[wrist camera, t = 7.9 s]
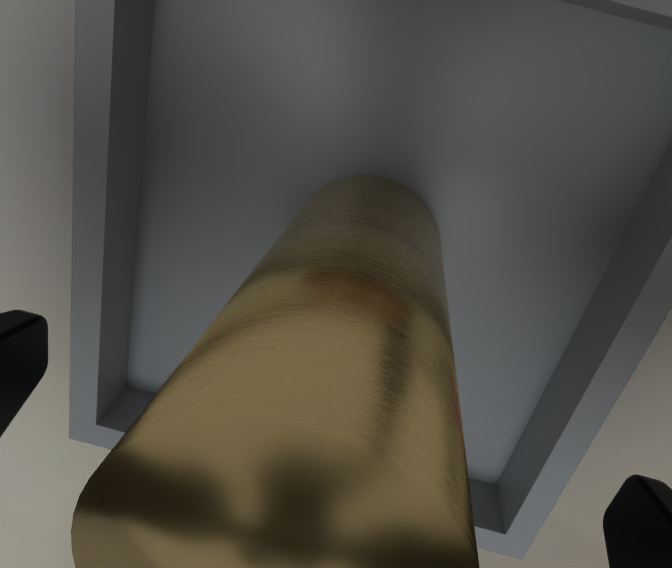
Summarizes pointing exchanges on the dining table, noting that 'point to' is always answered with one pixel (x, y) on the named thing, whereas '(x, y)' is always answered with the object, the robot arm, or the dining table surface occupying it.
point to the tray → (395, 164)
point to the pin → (304, 412)
